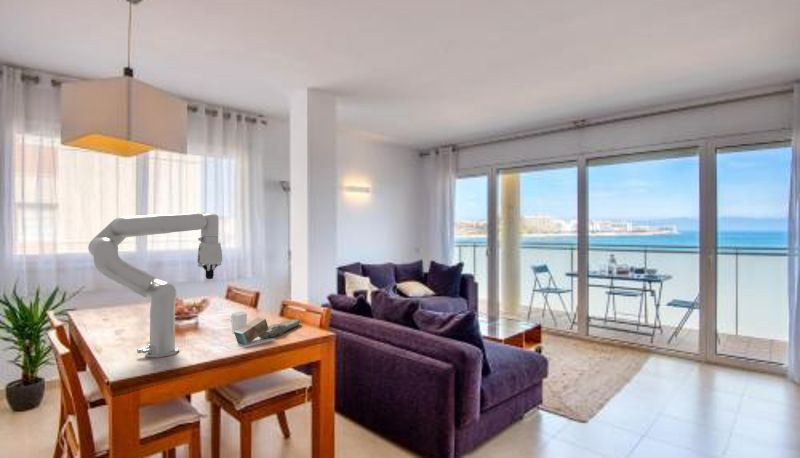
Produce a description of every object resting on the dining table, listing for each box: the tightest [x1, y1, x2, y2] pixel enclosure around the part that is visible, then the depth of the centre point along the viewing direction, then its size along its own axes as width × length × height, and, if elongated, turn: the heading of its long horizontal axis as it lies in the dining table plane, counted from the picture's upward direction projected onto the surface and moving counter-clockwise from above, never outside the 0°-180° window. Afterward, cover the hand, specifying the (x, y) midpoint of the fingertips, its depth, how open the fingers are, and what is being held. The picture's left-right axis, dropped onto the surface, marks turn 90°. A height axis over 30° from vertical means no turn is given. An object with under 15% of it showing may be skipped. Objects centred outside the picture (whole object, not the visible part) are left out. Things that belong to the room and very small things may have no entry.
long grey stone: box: [259, 319, 301, 338], centre depth 217 cm, size 35×5×10 cm
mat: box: [221, 336, 277, 351], centre depth 196 cm, size 22×12×1 cm, turn 142°
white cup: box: [230, 311, 248, 335], centre depth 215 cm, size 8×8×10 cm
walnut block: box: [234, 317, 269, 345], centre depth 198 cm, size 6×6×14 cm
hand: (209, 278), depth 194 cm, fingers closed
